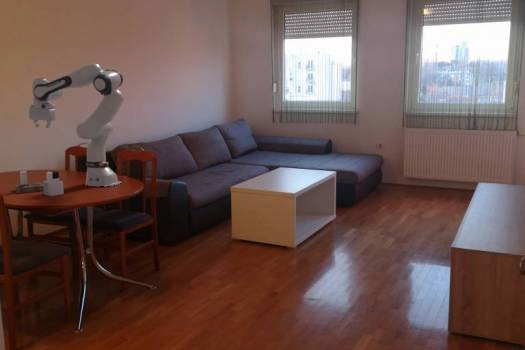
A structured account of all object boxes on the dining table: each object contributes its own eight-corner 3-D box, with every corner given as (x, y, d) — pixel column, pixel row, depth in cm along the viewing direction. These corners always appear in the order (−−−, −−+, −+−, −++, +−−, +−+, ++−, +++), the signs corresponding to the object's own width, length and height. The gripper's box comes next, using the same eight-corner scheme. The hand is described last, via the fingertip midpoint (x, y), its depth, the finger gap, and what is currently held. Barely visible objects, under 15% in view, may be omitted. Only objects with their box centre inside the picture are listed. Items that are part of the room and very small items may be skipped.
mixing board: (50, 186, 321) (50, 181, 321) (55, 189, 312) (55, 184, 312) (15, 190, 310) (14, 184, 309) (19, 193, 301) (18, 187, 300)
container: (56, 192, 305) (55, 170, 303) (63, 194, 300) (62, 171, 298) (43, 194, 299) (42, 171, 297) (51, 196, 294) (49, 173, 292)
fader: (27, 184, 310) (26, 170, 309) (28, 185, 306) (28, 172, 305) (19, 185, 308) (18, 171, 306) (21, 186, 304) (20, 172, 302)
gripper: (25, 104, 330) (27, 127, 333) (48, 105, 321) (49, 128, 323) (34, 104, 336) (35, 126, 338) (56, 105, 326) (58, 127, 329)
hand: (42, 127), depth 330 cm, fingers open, 8 cm apart
